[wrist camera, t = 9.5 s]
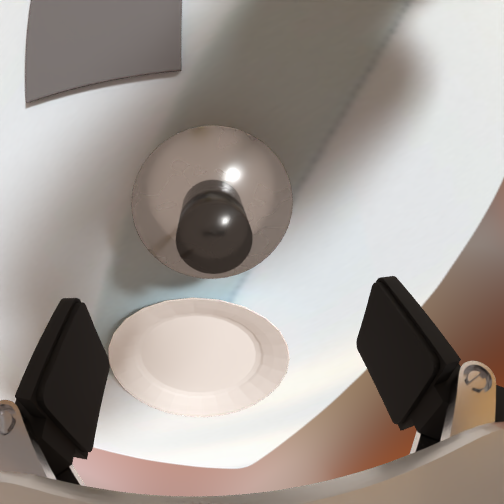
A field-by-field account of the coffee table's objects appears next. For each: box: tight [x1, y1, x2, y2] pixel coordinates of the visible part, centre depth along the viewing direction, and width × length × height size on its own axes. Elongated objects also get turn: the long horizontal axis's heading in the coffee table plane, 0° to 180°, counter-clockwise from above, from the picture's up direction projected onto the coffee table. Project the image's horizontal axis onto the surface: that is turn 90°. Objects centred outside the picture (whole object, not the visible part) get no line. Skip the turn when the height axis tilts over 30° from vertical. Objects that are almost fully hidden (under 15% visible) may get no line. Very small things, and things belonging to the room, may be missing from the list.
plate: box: [109, 298, 290, 417], centre depth 33 cm, size 21×21×2 cm
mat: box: [26, 0, 182, 102], centre depth 16 cm, size 14×12×1 cm
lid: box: [132, 125, 293, 279], centre depth 18 cm, size 11×11×6 cm
